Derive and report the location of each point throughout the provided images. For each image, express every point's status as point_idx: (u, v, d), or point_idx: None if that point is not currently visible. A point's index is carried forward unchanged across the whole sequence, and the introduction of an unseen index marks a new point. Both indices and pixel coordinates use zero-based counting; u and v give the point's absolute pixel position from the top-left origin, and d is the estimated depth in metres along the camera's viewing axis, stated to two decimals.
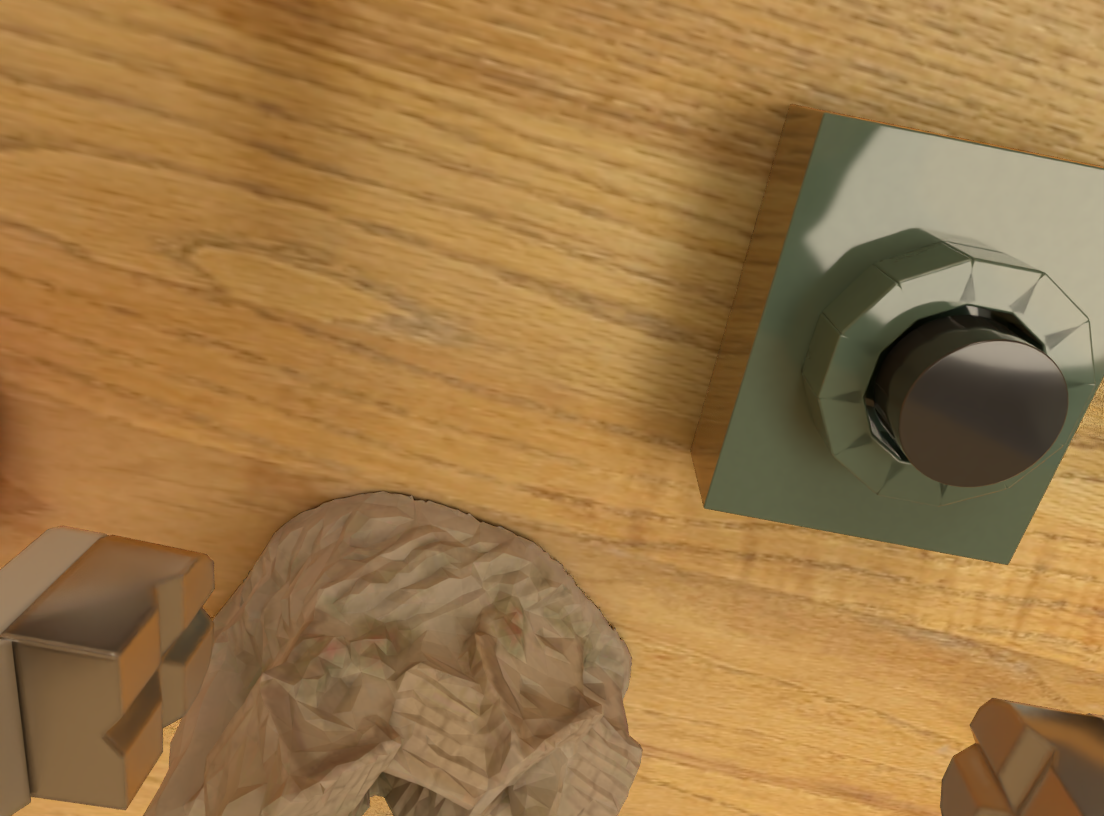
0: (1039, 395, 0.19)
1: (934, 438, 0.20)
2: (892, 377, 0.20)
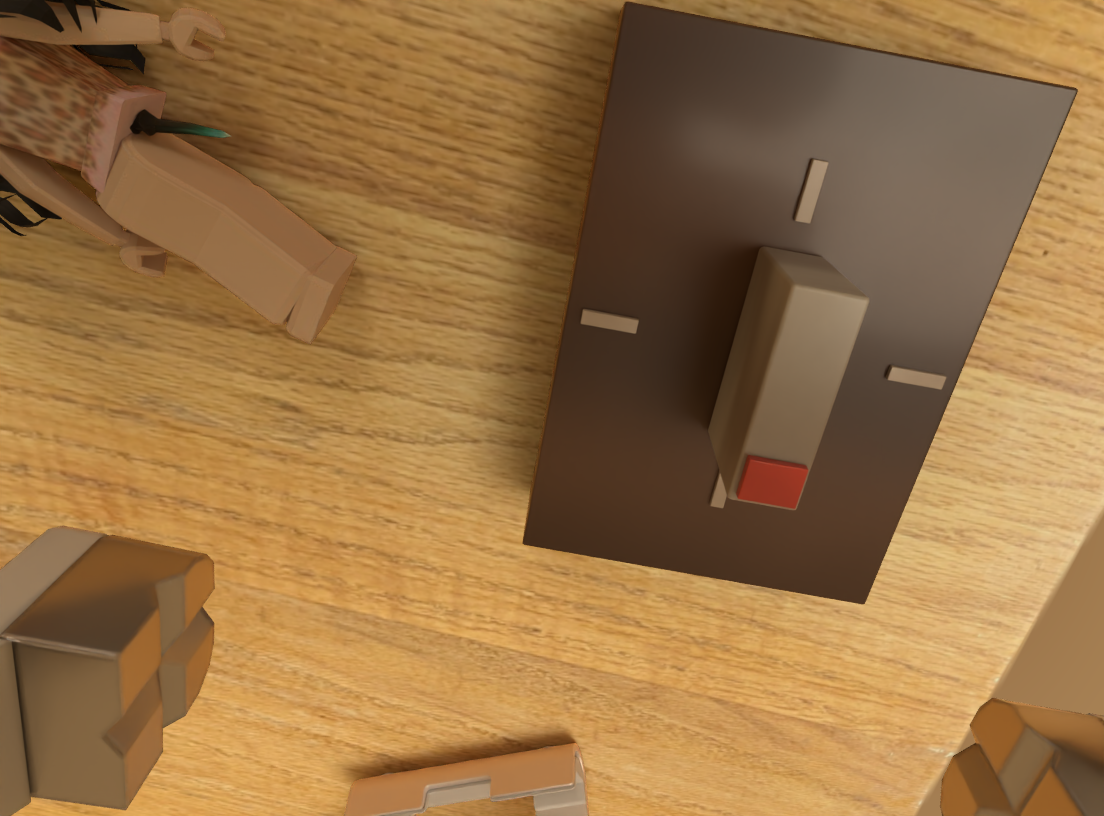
0: None
1: None
2: None
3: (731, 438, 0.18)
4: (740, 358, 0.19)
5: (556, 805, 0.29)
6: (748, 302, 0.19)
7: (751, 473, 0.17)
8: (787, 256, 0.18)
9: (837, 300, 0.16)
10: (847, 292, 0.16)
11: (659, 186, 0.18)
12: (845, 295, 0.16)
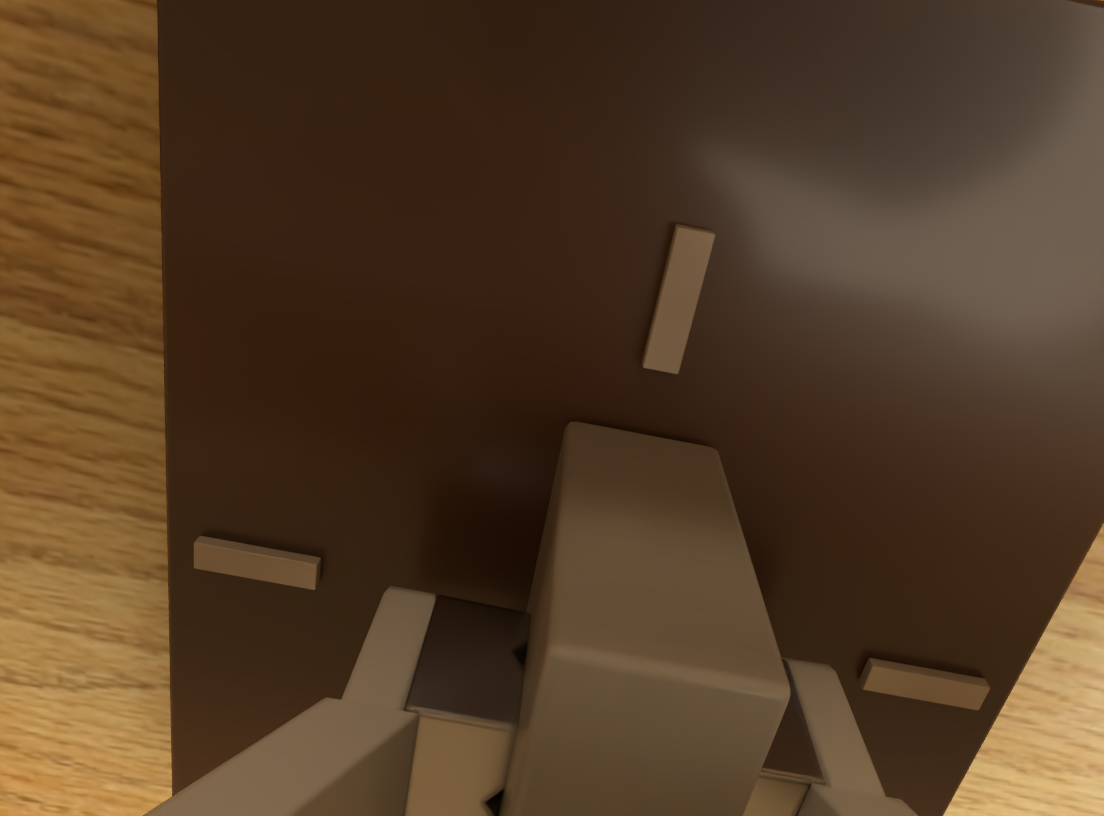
0: None
1: None
2: None
3: None
4: None
5: None
6: (542, 546, 0.08)
7: None
8: (616, 460, 0.07)
9: (688, 695, 0.05)
10: (723, 668, 0.05)
11: (321, 284, 0.08)
12: (715, 680, 0.05)
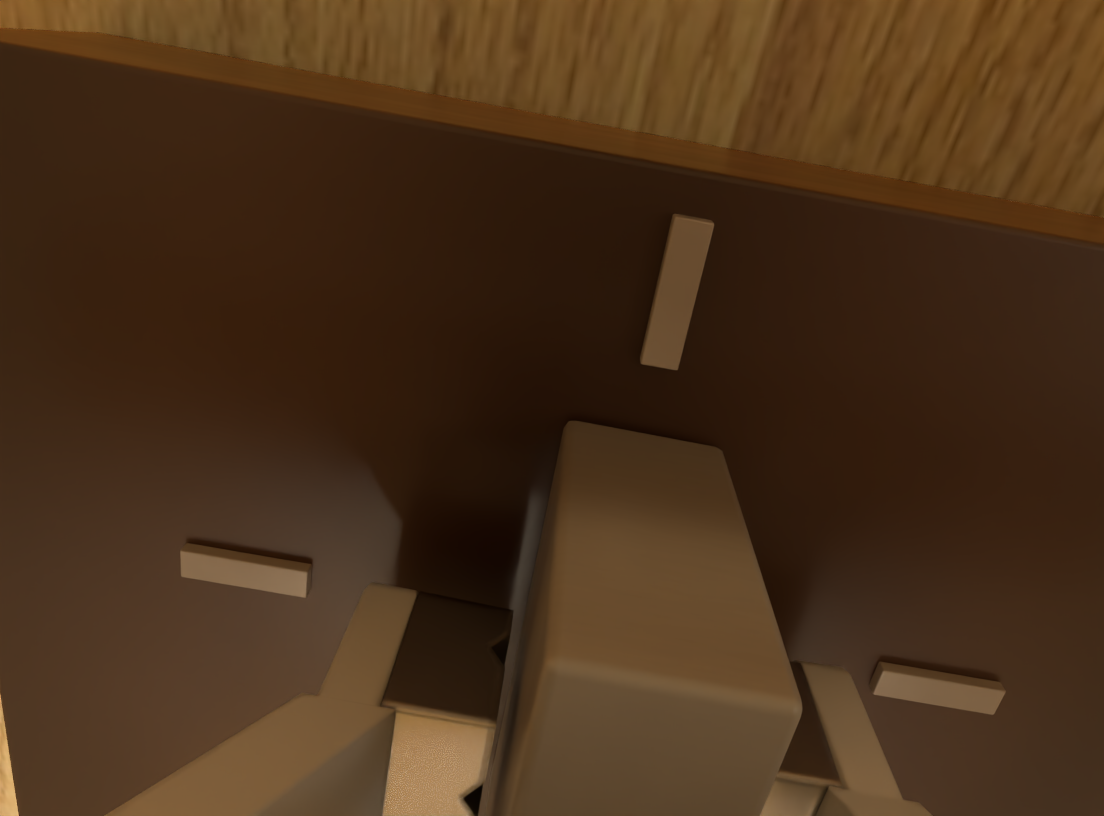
0: None
1: None
2: None
3: None
4: (514, 692, 0.08)
5: None
6: (540, 550, 0.08)
7: None
8: (617, 461, 0.07)
9: (694, 712, 0.05)
10: (730, 682, 0.05)
11: (1007, 403, 0.08)
12: (723, 695, 0.05)
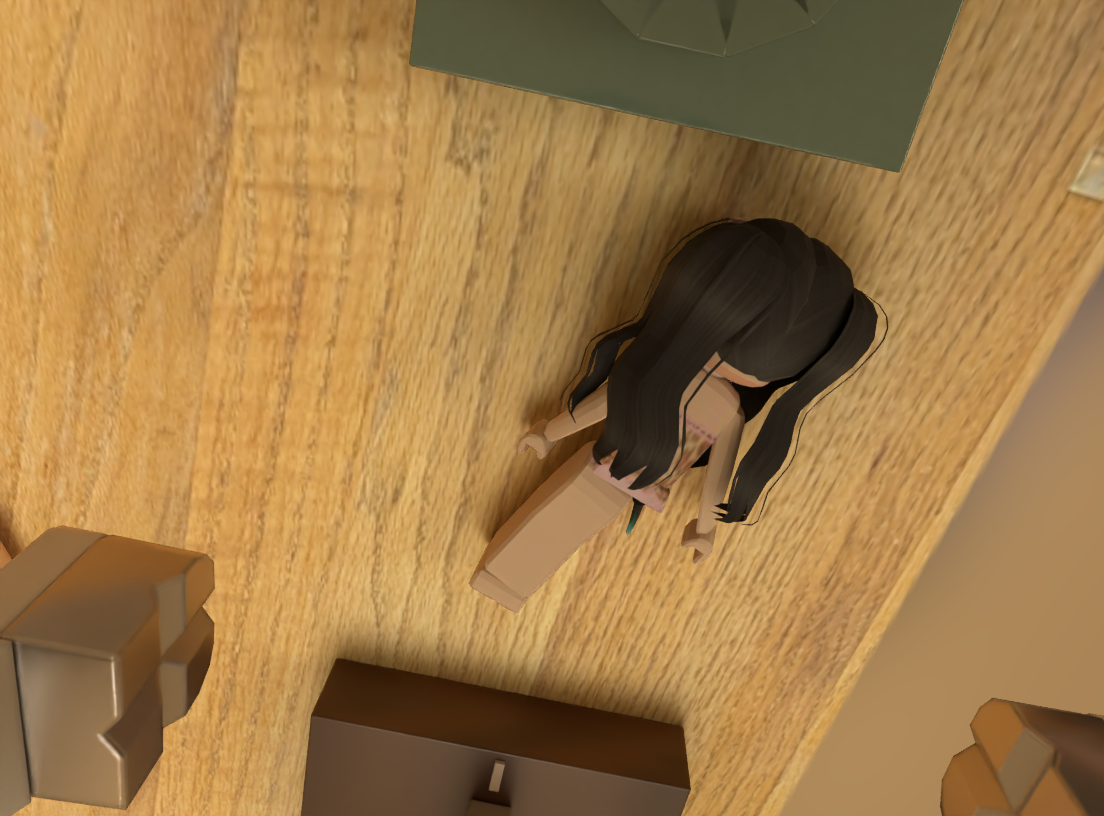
0: None
1: None
2: None
3: None
4: None
5: None
6: None
7: None
8: None
9: None
10: None
11: (584, 801, 0.29)
12: None
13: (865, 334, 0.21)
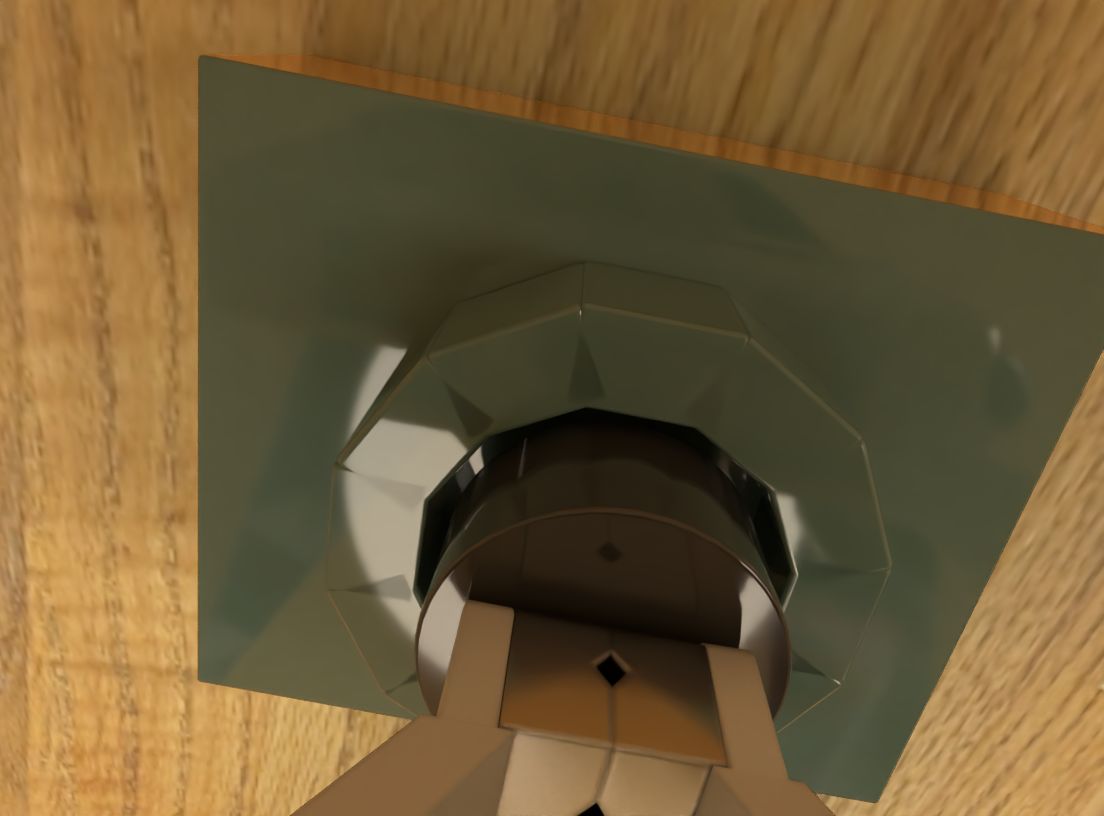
0: None
1: (541, 589, 0.08)
2: (656, 464, 0.09)
3: None
4: None
5: None
6: None
7: None
8: None
9: None
10: None
11: None
12: None
13: None
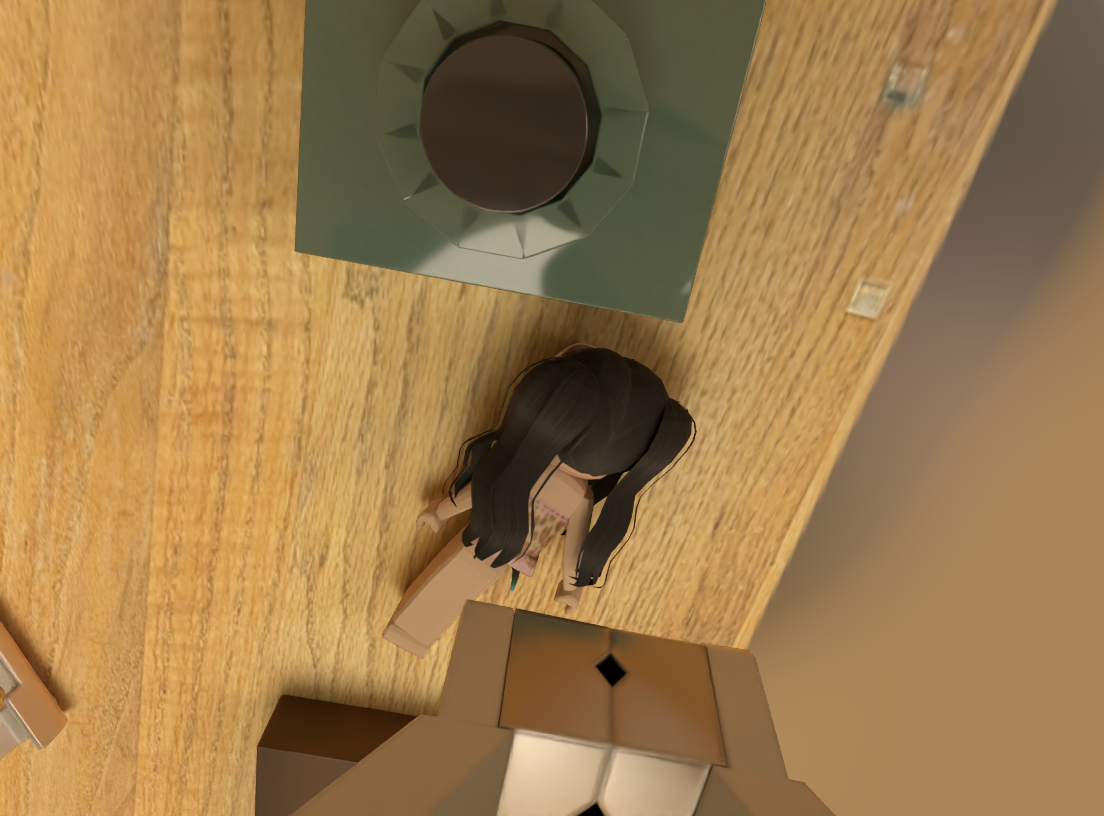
0: (529, 180, 0.19)
1: (475, 80, 0.18)
2: (529, 39, 0.19)
3: None
4: None
5: (7, 725, 0.36)
6: None
7: None
8: None
9: None
10: None
11: None
12: None
13: (676, 438, 0.27)
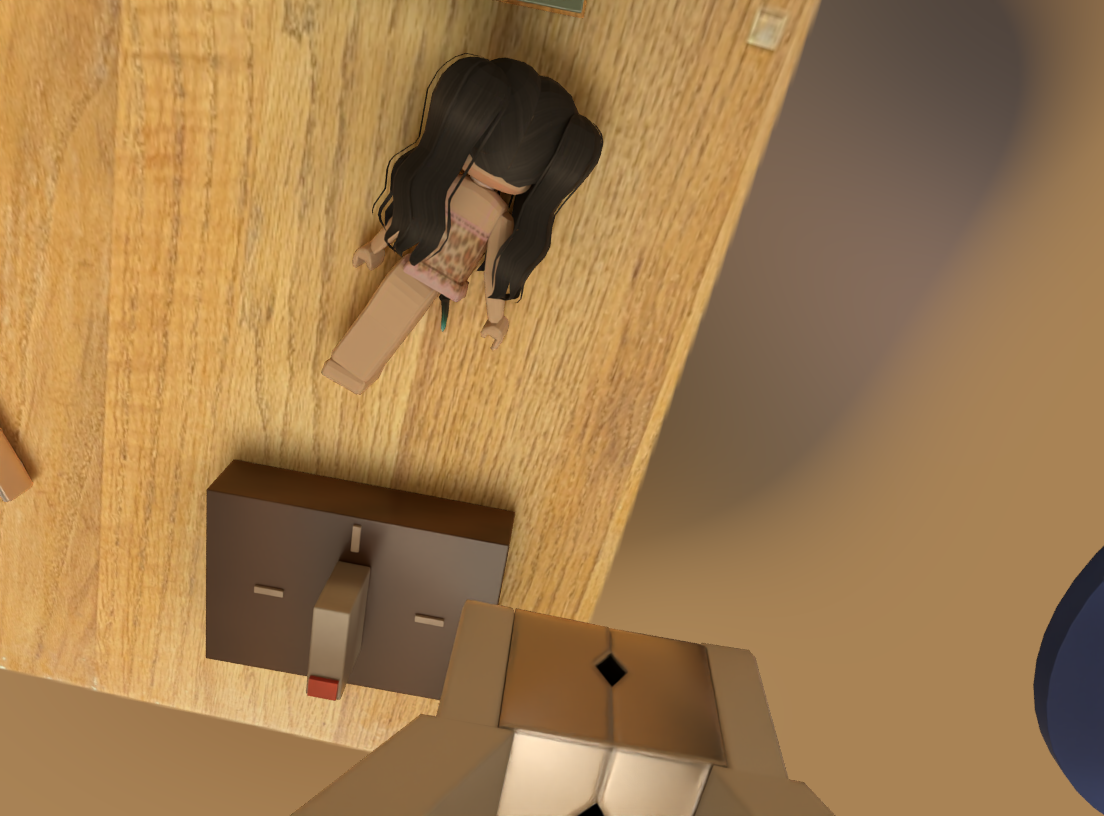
0: None
1: None
2: None
3: None
4: None
5: None
6: None
7: (311, 684, 0.36)
8: (343, 571, 0.37)
9: (334, 614, 0.34)
10: (340, 610, 0.34)
11: (427, 559, 0.37)
12: (338, 612, 0.34)
13: (583, 146, 0.29)
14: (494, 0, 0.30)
